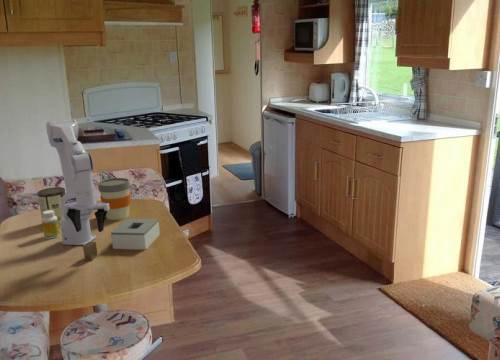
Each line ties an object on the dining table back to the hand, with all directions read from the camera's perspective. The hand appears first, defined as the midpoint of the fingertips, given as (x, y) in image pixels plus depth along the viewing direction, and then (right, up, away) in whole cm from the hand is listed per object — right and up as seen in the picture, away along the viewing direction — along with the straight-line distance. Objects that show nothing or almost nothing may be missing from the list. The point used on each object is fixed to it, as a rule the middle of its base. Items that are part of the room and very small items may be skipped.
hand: (90, 230), depth 158 cm
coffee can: (-26, -1, +37) cm, 45 cm away
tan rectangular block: (0, -9, +2) cm, 10 cm away
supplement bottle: (-22, -5, +23) cm, 33 cm away
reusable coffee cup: (-3, +1, +43) cm, 43 cm away
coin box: (+12, -5, +15) cm, 20 cm away
